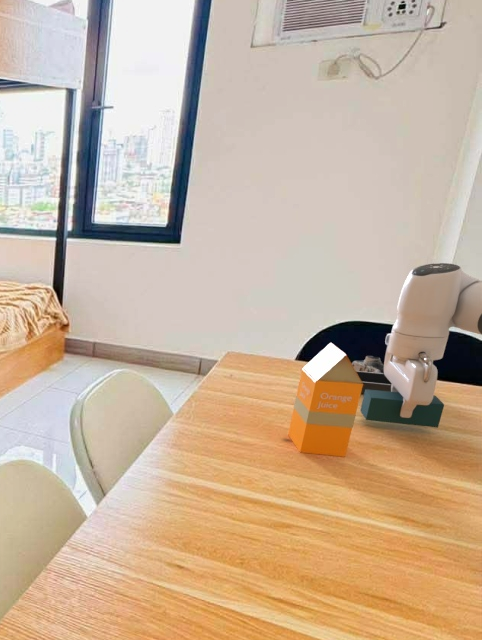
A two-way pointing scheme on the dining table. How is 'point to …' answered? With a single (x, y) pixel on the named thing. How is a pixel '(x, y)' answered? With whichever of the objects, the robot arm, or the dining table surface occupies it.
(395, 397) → the dark teal block
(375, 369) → the grey shoe
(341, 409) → the orange juice
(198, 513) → the dining table surface
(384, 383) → the dark grey tray
